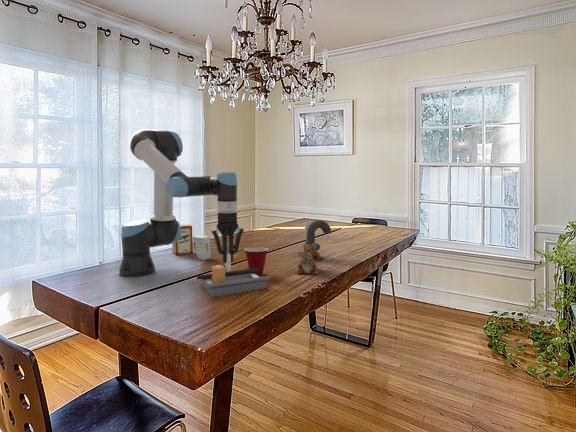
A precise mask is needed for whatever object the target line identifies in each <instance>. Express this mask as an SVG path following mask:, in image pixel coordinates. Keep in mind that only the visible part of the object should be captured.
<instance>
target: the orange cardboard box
mask: <svg viewBox="0 0 576 432" xmlns="http://www.w3.org/2000/svg"><path fill="white" fill-rule="evenodd" d="M180 227H181V234H180V237H179V239H178V240H177V241H176V242H175V243H173V244H171V245H172V247H171V248H172V250H171V251H172V254H173V255H174V256H175V257H176V256H177V257H178V256H183V255H191V254H193V225H191V224H180Z"/></svg>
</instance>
